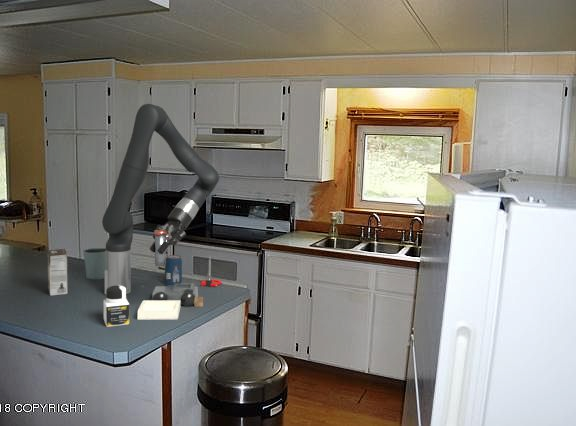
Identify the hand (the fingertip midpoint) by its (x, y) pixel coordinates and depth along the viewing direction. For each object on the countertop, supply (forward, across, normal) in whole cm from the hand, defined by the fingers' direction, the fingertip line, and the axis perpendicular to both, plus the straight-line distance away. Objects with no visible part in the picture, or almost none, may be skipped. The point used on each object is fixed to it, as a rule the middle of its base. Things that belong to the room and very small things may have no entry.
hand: (155, 251), depth 167 cm
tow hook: (-13, -15, +45) cm, 49 cm away
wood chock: (+4, +3, +28) cm, 29 cm away
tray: (+15, 0, +17) cm, 23 cm away
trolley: (+6, -7, +26) cm, 28 cm away
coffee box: (+23, -48, +9) cm, 54 cm away
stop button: (+2, 0, +5) cm, 5 cm away
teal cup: (+7, -57, +25) cm, 63 cm away
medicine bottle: (+25, -4, +7) cm, 26 cm away
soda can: (-4, -26, +36) cm, 45 cm away
